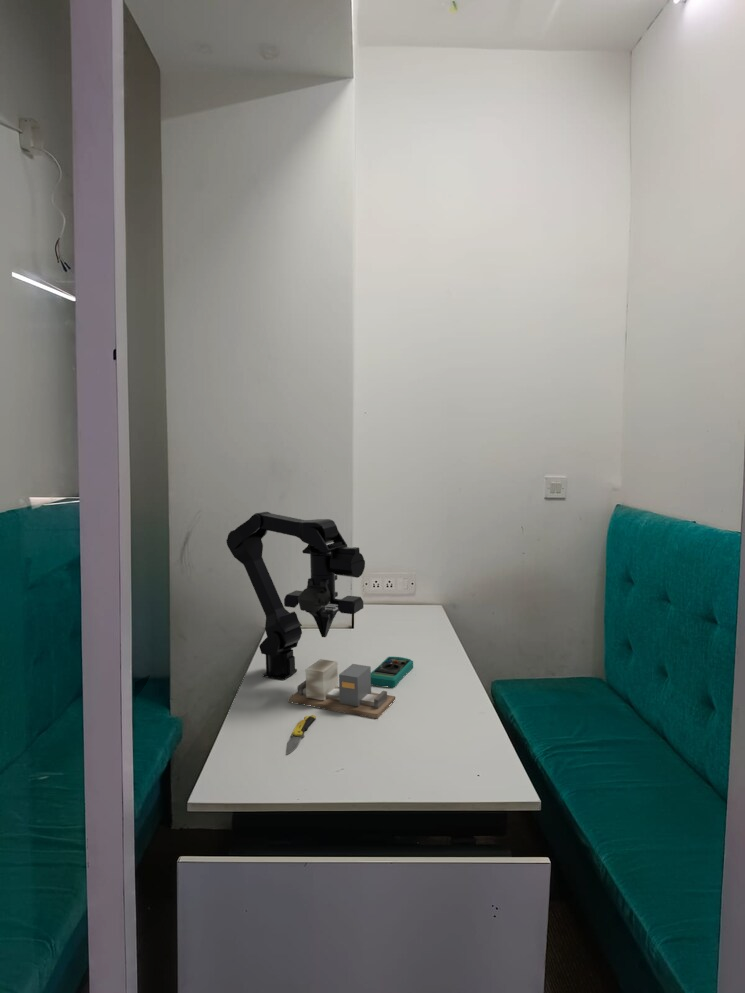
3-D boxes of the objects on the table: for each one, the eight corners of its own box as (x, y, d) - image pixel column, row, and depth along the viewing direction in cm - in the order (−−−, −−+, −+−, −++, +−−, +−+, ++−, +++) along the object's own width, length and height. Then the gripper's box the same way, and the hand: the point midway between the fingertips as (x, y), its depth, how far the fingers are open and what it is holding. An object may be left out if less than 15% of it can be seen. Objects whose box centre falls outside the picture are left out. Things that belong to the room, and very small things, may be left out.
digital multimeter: (414, 668, 169) (414, 657, 168) (394, 690, 155) (394, 678, 155) (388, 665, 171) (387, 654, 171) (366, 686, 158) (365, 674, 157)
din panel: (288, 702, 148) (287, 669, 147) (310, 686, 157) (309, 654, 156) (377, 718, 139) (377, 683, 138) (395, 700, 148) (394, 667, 147)
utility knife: (296, 752, 124) (280, 751, 124) (296, 758, 124) (281, 757, 124) (316, 714, 139) (302, 714, 140) (316, 720, 140) (302, 719, 140)
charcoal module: (339, 703, 144) (338, 674, 143) (353, 691, 150) (352, 663, 150) (357, 706, 142) (357, 677, 141) (371, 694, 149) (370, 666, 148)
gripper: (270, 577, 151) (272, 642, 153) (342, 583, 143) (344, 652, 145) (295, 567, 161) (296, 628, 163) (363, 573, 154) (364, 637, 155)
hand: (324, 636), depth 156 cm, fingers closed
